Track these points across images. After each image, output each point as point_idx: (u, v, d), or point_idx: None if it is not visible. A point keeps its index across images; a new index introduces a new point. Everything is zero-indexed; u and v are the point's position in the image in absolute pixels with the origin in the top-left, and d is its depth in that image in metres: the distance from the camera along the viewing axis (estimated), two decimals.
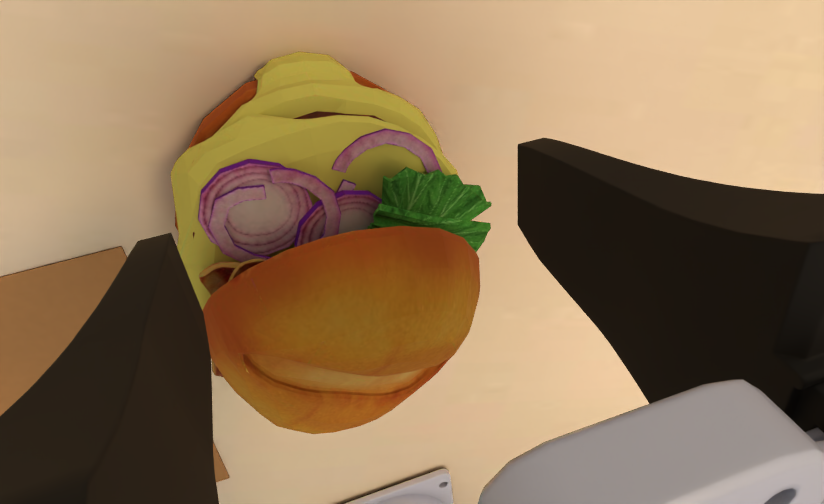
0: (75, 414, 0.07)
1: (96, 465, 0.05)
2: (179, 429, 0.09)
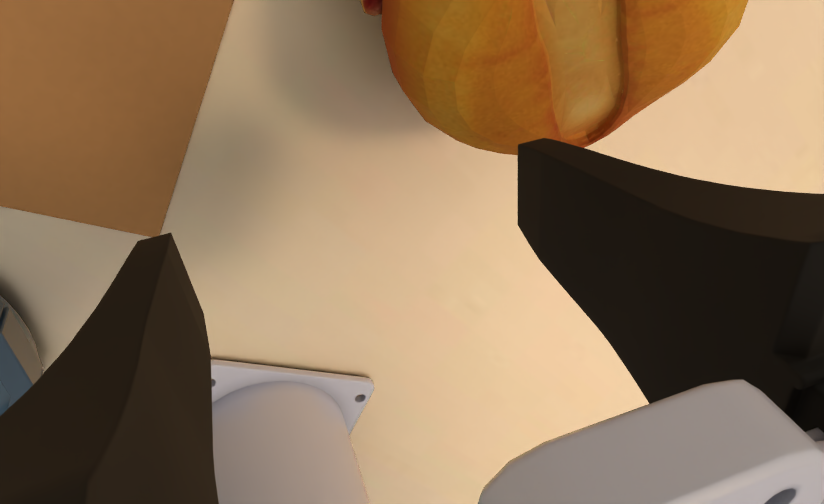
0: (75, 413, 0.07)
1: (96, 465, 0.05)
2: (179, 429, 0.09)
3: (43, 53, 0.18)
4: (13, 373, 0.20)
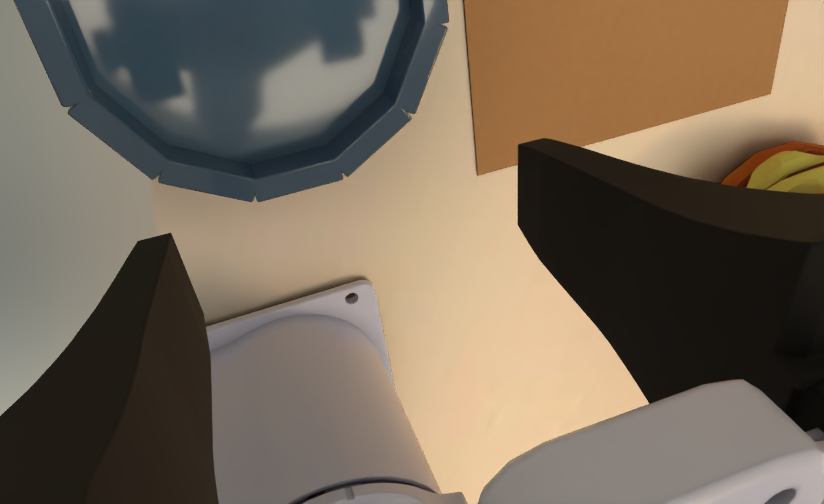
0: (75, 414, 0.07)
1: (96, 465, 0.05)
2: (179, 429, 0.09)
3: (599, 32, 0.23)
4: (366, 148, 0.20)
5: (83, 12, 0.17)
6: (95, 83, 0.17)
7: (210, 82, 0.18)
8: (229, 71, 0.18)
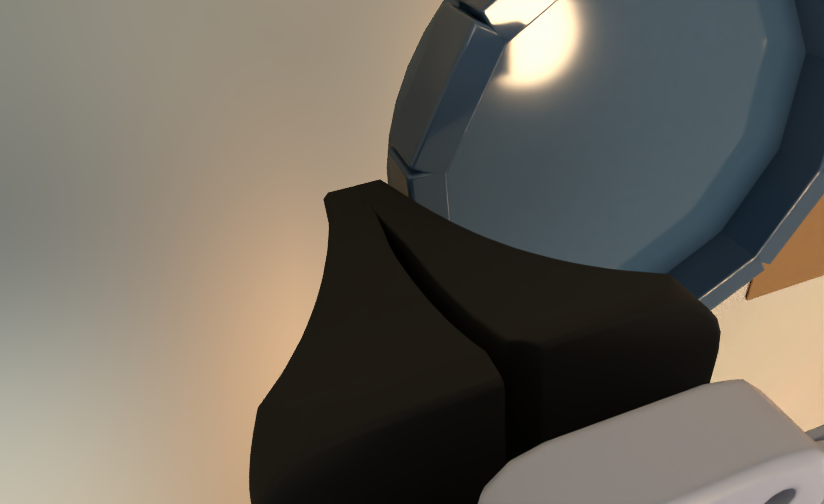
0: (390, 319, 0.07)
1: (475, 343, 0.06)
2: None
3: None
4: (709, 303, 0.17)
5: None
6: None
7: (554, 235, 0.15)
8: (577, 221, 0.15)
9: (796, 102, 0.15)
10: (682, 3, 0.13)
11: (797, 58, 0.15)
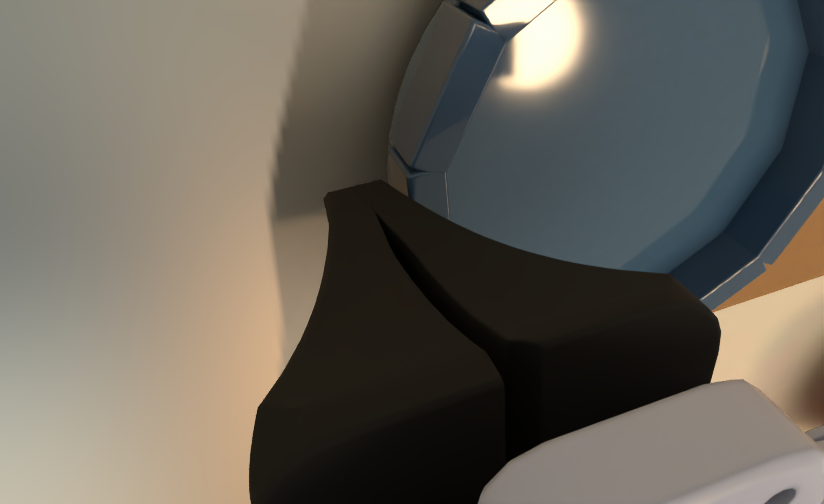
0: (390, 318, 0.07)
1: (475, 344, 0.06)
2: None
3: None
4: (711, 304, 0.17)
5: (447, 169, 0.13)
6: None
7: (555, 234, 0.15)
8: (578, 221, 0.15)
9: (799, 101, 0.15)
10: (683, 2, 0.13)
11: (800, 58, 0.14)
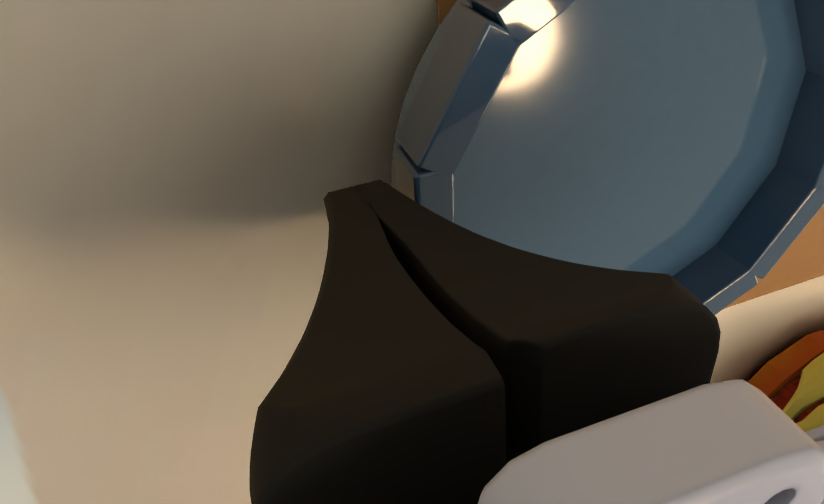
0: (390, 318, 0.07)
1: (476, 343, 0.06)
2: None
3: None
4: None
5: None
6: None
7: (553, 241, 0.15)
8: (576, 229, 0.15)
9: (794, 119, 0.15)
10: (689, 16, 0.13)
11: (797, 76, 0.15)
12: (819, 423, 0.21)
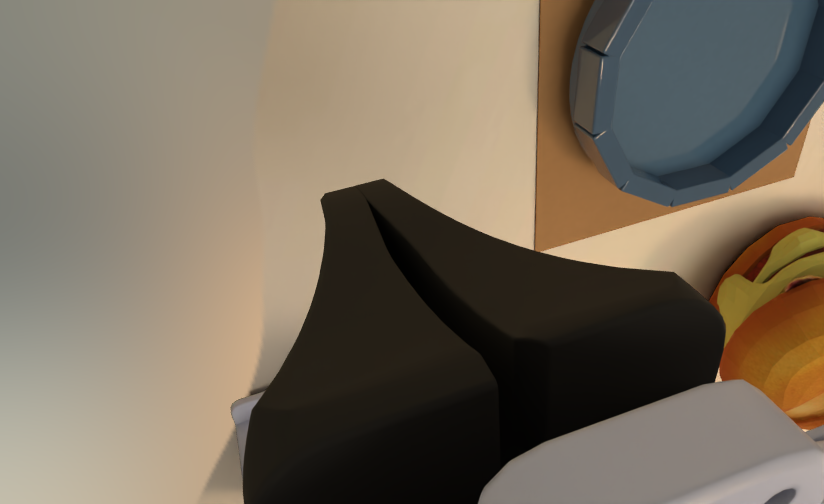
0: (385, 320, 0.07)
1: (470, 345, 0.06)
2: None
3: None
4: (752, 170, 0.26)
5: None
6: None
7: (660, 115, 0.24)
8: (674, 107, 0.24)
9: (811, 37, 0.24)
10: None
11: (813, 8, 0.24)
12: (782, 279, 0.29)
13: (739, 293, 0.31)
